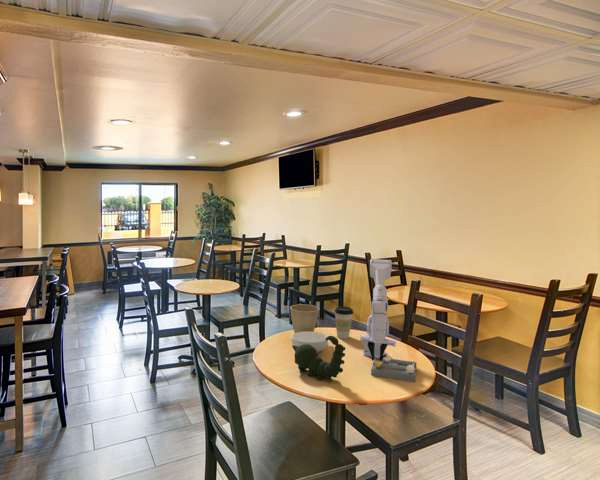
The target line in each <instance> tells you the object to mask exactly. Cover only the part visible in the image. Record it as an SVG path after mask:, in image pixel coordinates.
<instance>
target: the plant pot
mask: <svg viewBox="0 0 600 480" xmlns="http://www.w3.org/2000/svg"><path fill="white" fill-rule="evenodd" d="M289 308H290V317H291V318H290V319H291V322H292V323H291V324H292V328H293V331H294V334H295V333H298V332H307V331H309V332H315V329H316V326H317V322H318V318H319V314H320V313H319V312H320V307H318V306H316V305H313V304H301V303H299V304H293V305H291V306H290V307H289Z"/></svg>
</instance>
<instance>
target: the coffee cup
mask: <svg viewBox="0 0 600 480" xmlns="http://www.w3.org/2000/svg"><path fill="white" fill-rule="evenodd" d="M333 312H334V313H335V315H334V317H335V318H334V319H335V328H336V329H335V331H336V338H337V339H343V340H344V339H345V340H346V339H349V338H350V331H351V328H352V322H353V321H352V320H353V314H354V310H353V308H352V307H350V306H337V307H335V310H334V311H333Z"/></svg>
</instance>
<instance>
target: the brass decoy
mask: <svg viewBox="0 0 600 480" xmlns="http://www.w3.org/2000/svg"><path fill="white" fill-rule="evenodd" d="M374 361H375V360H374ZM374 365H375V367H376V368H381V367H382V362H381V361H380V360H376V361H375V363H374Z"/></svg>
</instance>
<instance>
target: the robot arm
mask: <svg viewBox="0 0 600 480" xmlns="http://www.w3.org/2000/svg"><path fill="white" fill-rule="evenodd" d="M392 263H393V261H392V260H391V259H375V258H371V259H370V260H369V275H370V278H372V279H373V280H374V283H375V284H374V288H373V289H372V291H373V293H372V296H373V297H372V301H371V315H369V316H368V317H367V323H366V334H365V335H363V336H362V335H361V336H360V341H359V342H360V343H363V356H365V357H371V362H372V361H373V362H374V361H375V356H377V357H380V359H379V360H380V361H381V360H382V356H383V355H385V354H387V351H386V349H387V347H388V346H390V347H394V348H396V344H397V341H396V340H393V339H389V338H386V337H387V336H389V333H390V322H389V321H390V320H389V318H388V317H387V315H388V312H389V309H388V308H389V302H388V294H387V292H388V289H387V287H385V282H386V280H388V279H390V278H391V276H392V275H391V273H392Z"/></svg>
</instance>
